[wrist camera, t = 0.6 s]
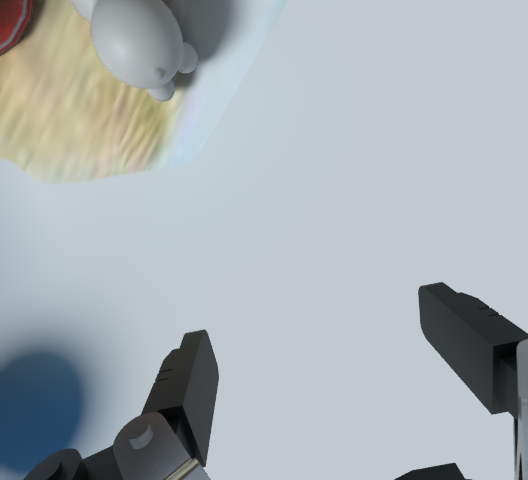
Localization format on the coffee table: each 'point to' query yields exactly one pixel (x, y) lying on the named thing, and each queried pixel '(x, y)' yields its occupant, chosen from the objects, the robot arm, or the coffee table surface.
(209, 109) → the coffee table surface
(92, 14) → the round bodied animal figurine
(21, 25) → the hourglass
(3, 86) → the coffee table surface
